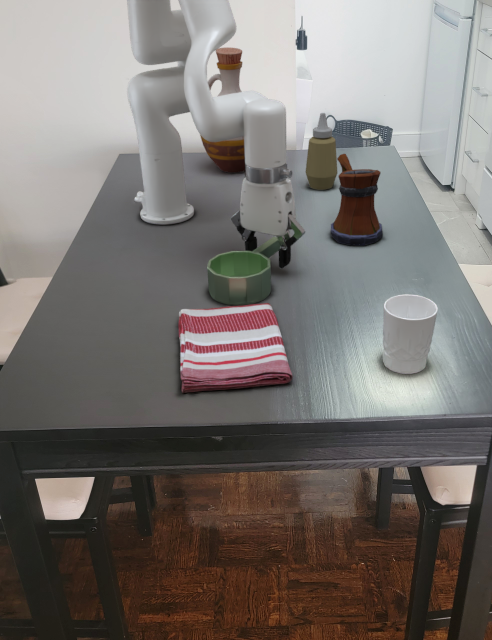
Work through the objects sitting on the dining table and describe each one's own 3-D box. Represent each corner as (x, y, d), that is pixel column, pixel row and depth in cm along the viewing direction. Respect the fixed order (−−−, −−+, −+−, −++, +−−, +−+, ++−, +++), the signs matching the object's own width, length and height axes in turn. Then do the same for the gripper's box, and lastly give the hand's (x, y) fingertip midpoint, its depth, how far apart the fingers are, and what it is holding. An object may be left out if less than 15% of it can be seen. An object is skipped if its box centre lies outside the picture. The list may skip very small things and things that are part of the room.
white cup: (374, 350, 111) (378, 295, 106) (422, 347, 112) (429, 292, 106) (385, 378, 105) (391, 321, 99) (436, 374, 105) (444, 317, 100)
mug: (315, 218, 159) (317, 152, 150) (364, 213, 160) (367, 148, 152) (337, 249, 144) (340, 178, 136) (390, 243, 146) (396, 173, 137)
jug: (185, 167, 192) (174, 49, 175) (233, 153, 202) (228, 40, 185) (231, 183, 180) (224, 58, 163) (280, 167, 190) (279, 48, 173)
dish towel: (181, 395, 103) (179, 380, 101) (178, 318, 122) (177, 304, 121) (293, 385, 104) (293, 370, 103) (273, 310, 123) (273, 297, 122)
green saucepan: (249, 311, 123) (248, 283, 120) (197, 296, 129) (195, 269, 125) (302, 269, 137) (302, 242, 134) (253, 257, 142) (252, 231, 139)
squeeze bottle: (342, 184, 177) (345, 111, 167) (327, 194, 171) (330, 119, 161) (314, 179, 181) (316, 107, 171) (299, 188, 175) (300, 115, 165)
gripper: (317, 173, 125) (315, 263, 135) (237, 160, 133) (241, 246, 143) (297, 186, 120) (297, 279, 130) (215, 171, 127) (220, 260, 137)
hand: (267, 261), depth 136 cm, fingers open, 6 cm apart
